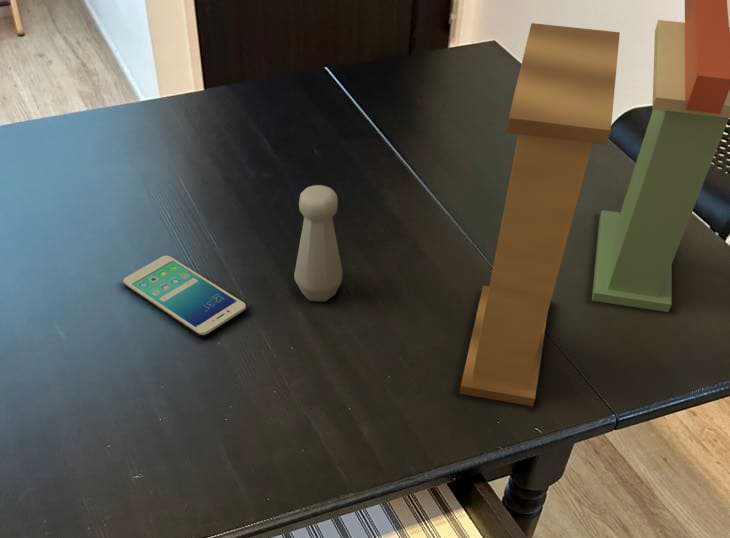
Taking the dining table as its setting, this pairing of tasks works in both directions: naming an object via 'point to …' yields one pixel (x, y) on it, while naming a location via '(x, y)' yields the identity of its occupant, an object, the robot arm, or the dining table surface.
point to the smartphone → (185, 296)
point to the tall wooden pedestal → (540, 201)
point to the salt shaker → (318, 245)
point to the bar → (706, 55)
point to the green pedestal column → (658, 187)
